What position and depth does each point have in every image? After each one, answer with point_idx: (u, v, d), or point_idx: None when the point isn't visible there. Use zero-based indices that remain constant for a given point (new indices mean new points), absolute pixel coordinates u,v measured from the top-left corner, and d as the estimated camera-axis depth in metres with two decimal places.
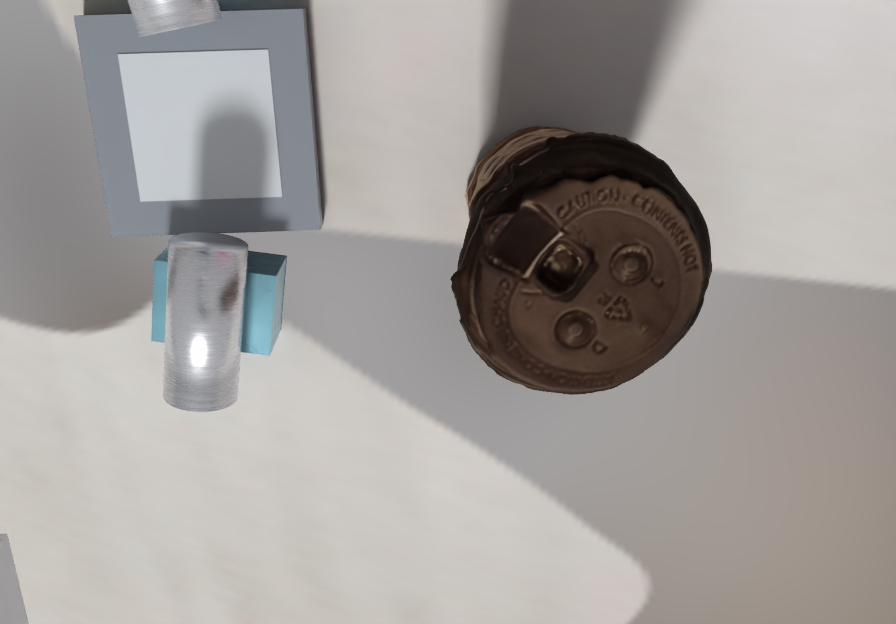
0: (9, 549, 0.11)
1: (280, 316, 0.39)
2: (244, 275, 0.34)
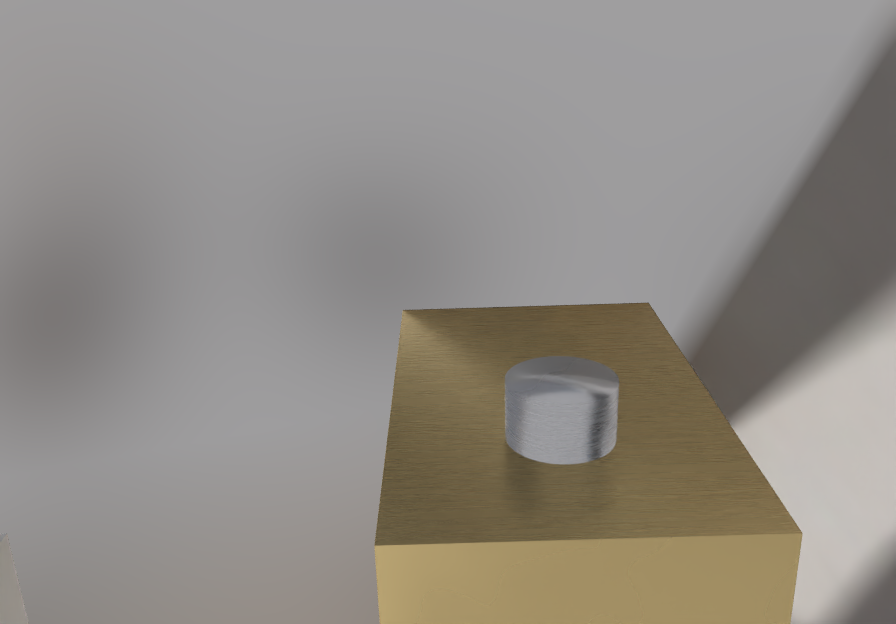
0: (9, 549, 0.11)
1: None
2: None
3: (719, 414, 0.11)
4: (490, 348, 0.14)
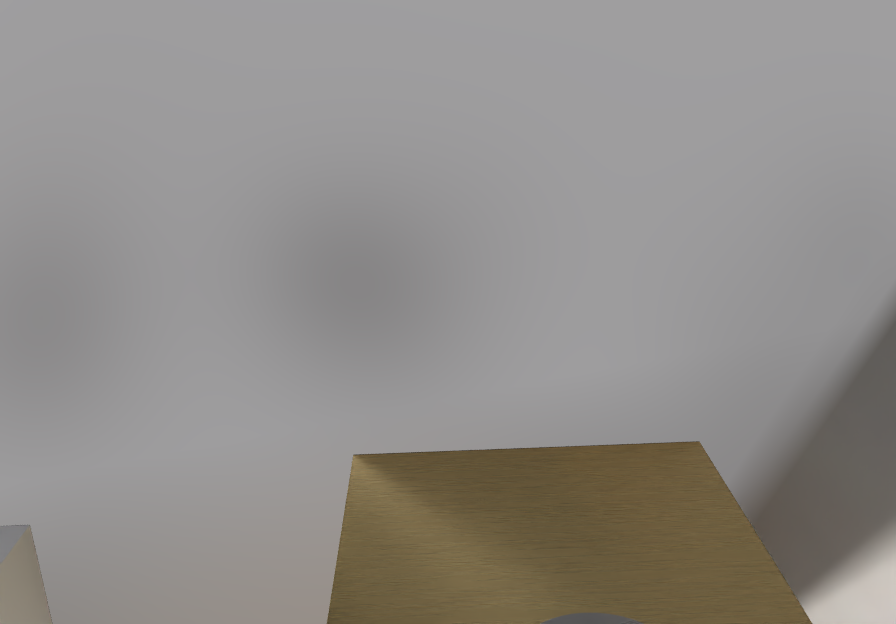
0: (32, 540, 0.11)
1: None
2: None
3: None
4: (478, 537, 0.09)
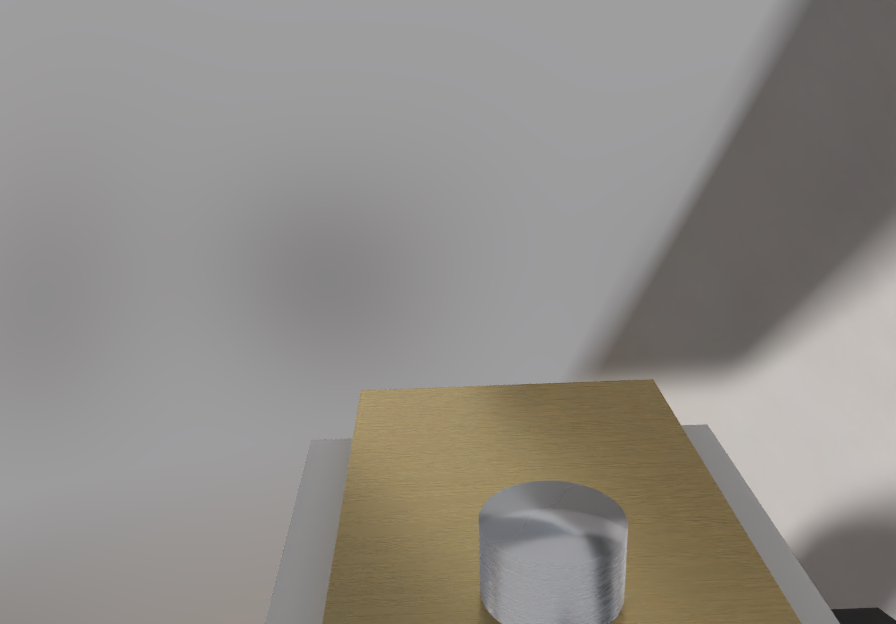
0: None
1: None
2: None
3: (753, 552, 0.09)
4: (464, 447, 0.11)
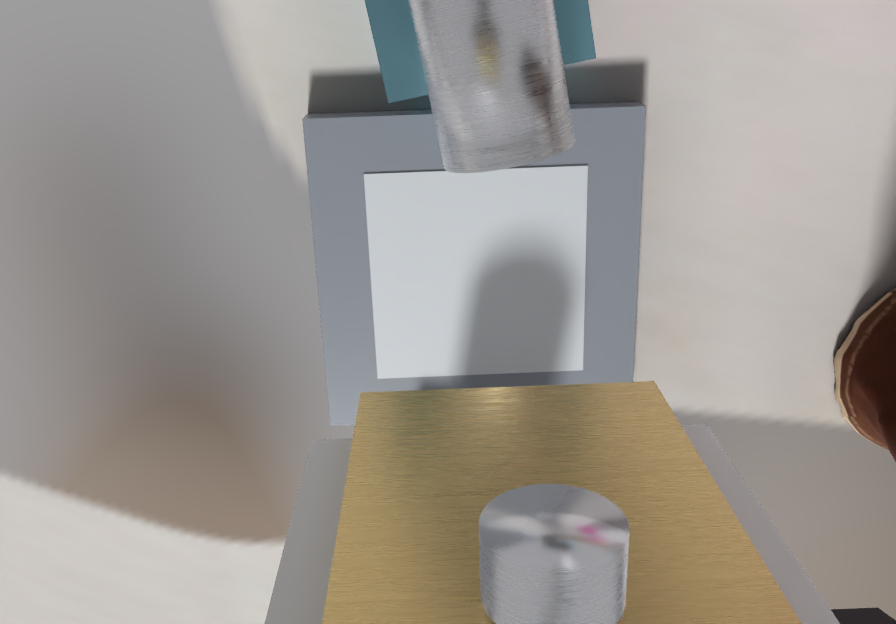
0: None
1: None
2: None
3: (755, 557, 0.09)
4: (464, 450, 0.11)
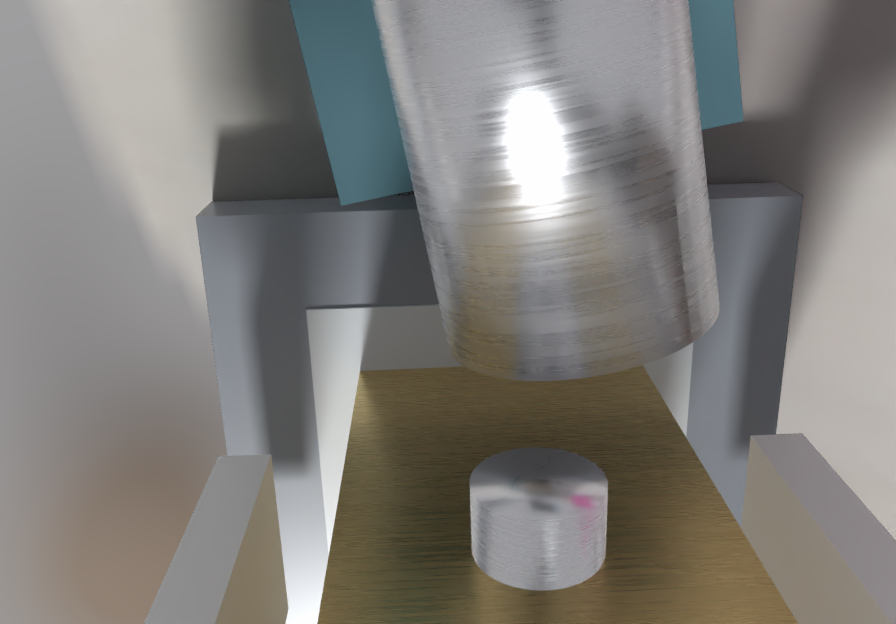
0: (272, 468, 0.12)
1: None
2: None
3: (727, 513, 0.09)
4: (458, 422, 0.12)
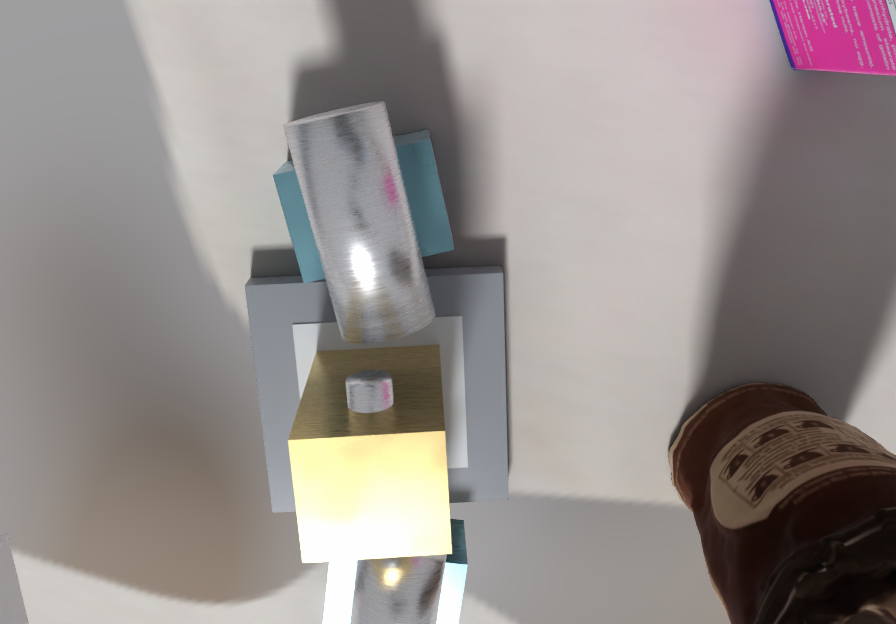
0: (9, 549, 0.11)
1: None
2: (442, 579, 0.30)
3: (440, 392, 0.27)
4: (353, 368, 0.29)
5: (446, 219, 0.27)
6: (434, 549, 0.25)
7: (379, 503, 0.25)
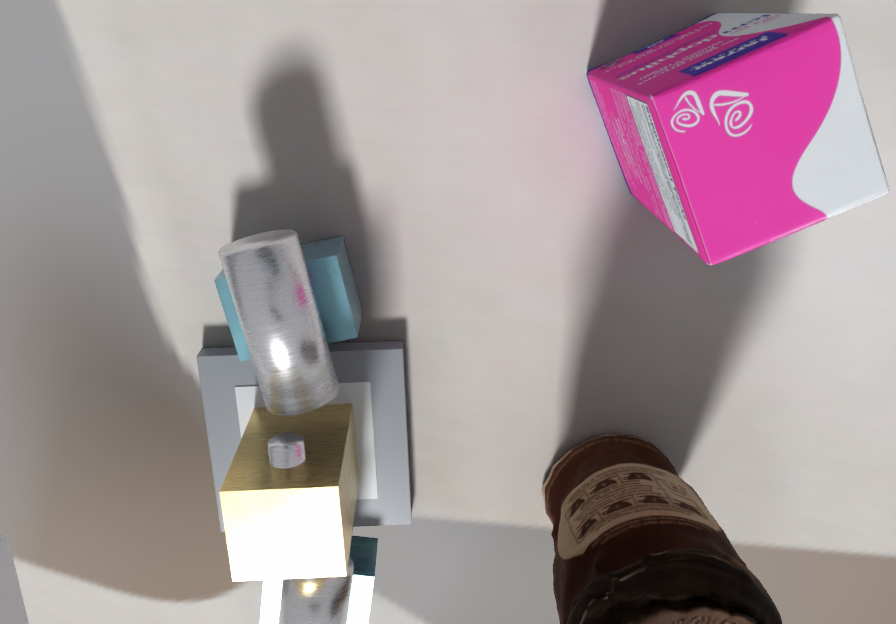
0: (9, 549, 0.11)
1: None
2: (350, 590, 0.38)
3: (342, 451, 0.34)
4: (280, 425, 0.37)
5: (350, 314, 0.35)
6: (332, 573, 0.33)
7: (290, 538, 0.33)
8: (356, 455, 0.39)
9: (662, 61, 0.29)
